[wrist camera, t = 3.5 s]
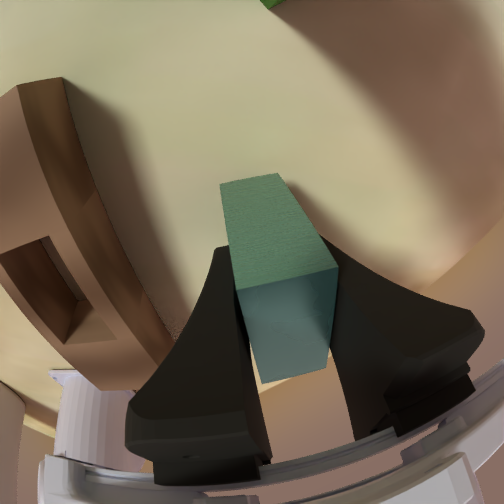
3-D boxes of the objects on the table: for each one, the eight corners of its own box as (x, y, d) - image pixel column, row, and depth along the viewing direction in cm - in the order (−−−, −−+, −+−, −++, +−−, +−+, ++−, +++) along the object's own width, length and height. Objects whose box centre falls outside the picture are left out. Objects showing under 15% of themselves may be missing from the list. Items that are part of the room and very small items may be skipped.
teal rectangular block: (286, 265, 14) (325, 367, 9) (240, 275, 14) (262, 384, 9) (277, 172, 11) (338, 266, 6) (219, 184, 11) (236, 290, 6)
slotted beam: (175, 343, 19) (175, 386, 16) (106, 352, 18) (100, 390, 16) (61, 76, 8) (16, 85, 5) (-20, 131, 7) (-62, 156, 5)
